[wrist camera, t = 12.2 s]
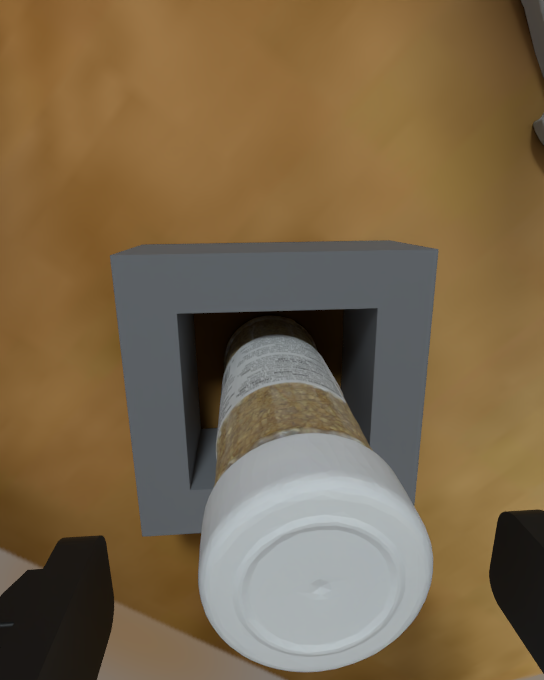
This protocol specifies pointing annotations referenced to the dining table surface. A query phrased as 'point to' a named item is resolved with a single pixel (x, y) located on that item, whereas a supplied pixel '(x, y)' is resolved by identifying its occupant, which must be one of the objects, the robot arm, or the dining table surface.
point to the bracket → (537, 45)
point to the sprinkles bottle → (303, 515)
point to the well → (266, 295)
